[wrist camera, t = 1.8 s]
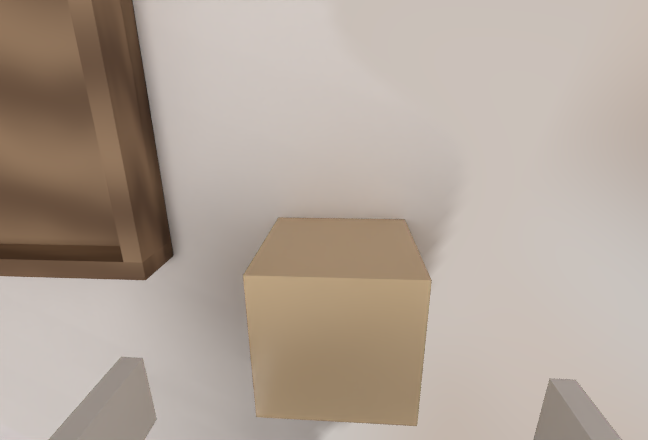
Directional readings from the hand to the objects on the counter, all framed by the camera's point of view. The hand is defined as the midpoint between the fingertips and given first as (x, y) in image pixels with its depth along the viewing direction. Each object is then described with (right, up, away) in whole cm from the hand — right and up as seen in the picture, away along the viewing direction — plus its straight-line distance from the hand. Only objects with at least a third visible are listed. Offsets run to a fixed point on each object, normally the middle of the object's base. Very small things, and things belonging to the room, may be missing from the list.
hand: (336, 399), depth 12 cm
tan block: (+1, +3, +9) cm, 10 cm away
